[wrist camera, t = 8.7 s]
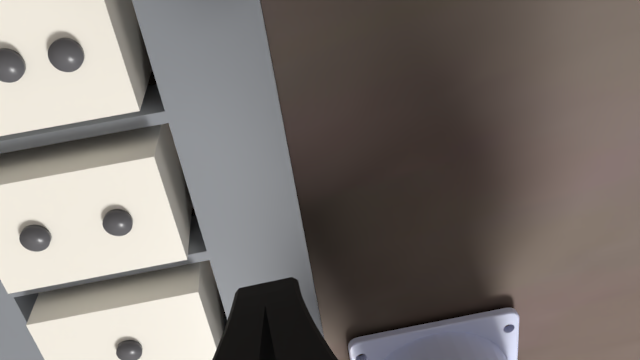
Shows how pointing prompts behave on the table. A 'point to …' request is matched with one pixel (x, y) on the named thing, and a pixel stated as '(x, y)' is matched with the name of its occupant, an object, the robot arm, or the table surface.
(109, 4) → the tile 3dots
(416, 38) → the table surface
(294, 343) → the robot arm
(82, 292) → the tile
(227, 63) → the keypad board
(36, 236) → the tile
